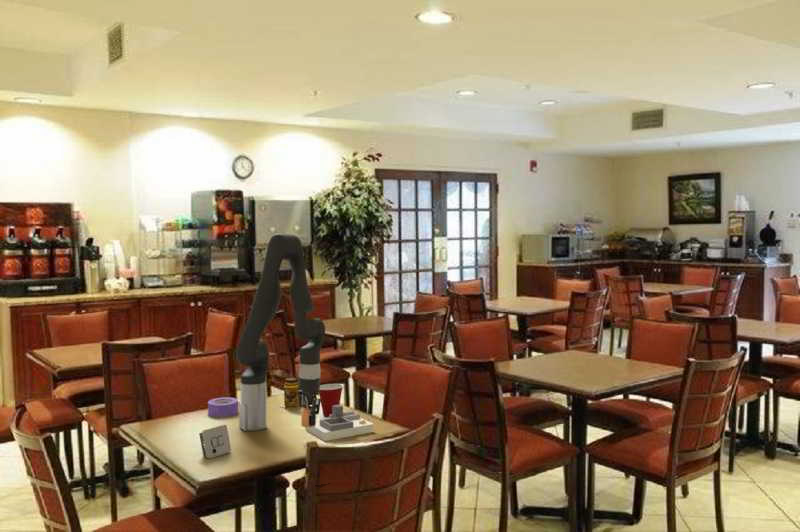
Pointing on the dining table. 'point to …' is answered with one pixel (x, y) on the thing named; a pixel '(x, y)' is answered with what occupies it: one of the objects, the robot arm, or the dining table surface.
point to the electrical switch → (215, 441)
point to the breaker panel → (341, 426)
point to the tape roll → (223, 407)
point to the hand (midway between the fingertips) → (308, 423)
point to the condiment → (291, 394)
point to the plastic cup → (330, 397)
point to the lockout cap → (306, 417)
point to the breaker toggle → (337, 411)
